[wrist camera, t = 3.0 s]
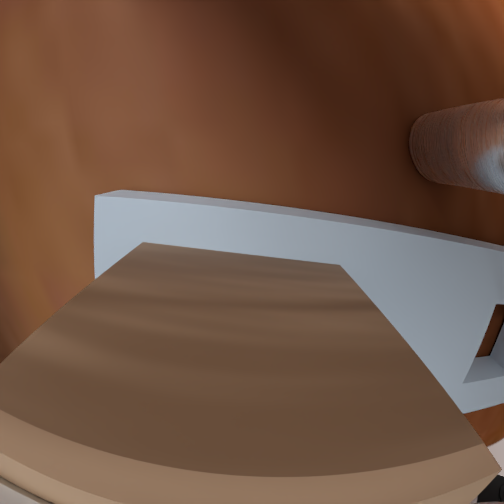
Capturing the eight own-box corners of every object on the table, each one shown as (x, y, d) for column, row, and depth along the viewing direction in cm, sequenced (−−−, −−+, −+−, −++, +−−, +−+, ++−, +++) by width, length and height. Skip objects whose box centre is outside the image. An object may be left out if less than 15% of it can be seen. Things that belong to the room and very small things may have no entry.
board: (120, 189, 12) (-26, 229, 4) (546, 256, 14) (631, 300, 5) (125, 378, 15) (67, 500, 7) (498, 381, 16) (557, 446, 8)
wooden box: (143, 242, 10) (-52, 417, 2) (340, 264, 11) (501, 469, 2) (147, 394, 12) (86, 570, 4) (302, 410, 13) (337, 592, 4)
